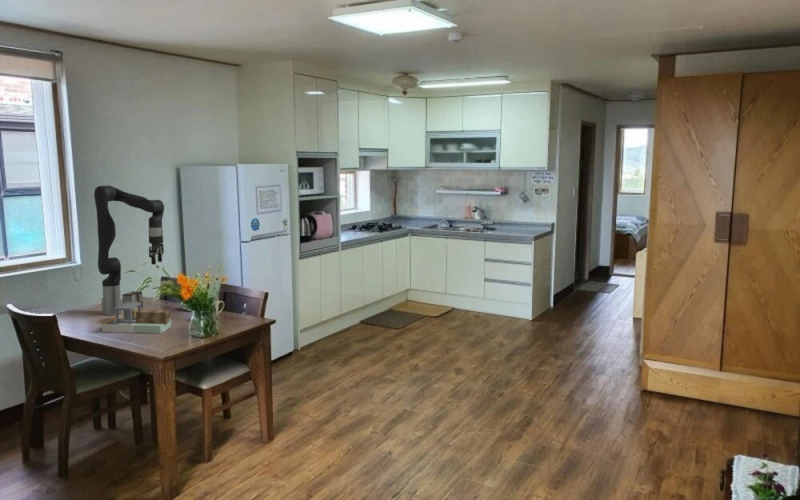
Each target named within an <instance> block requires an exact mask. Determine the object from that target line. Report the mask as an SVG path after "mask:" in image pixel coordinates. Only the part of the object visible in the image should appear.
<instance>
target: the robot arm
mask: <svg viewBox="0 0 800 500" xmlns="http://www.w3.org/2000/svg"><path fill="white" fill-rule="evenodd" d="M93 194H94V195H93V196H94V202H95V203H94V204H95V208H96V218H97V219H96V220H97V237H98V239H97V240H98V251H97V254H98V256H97V267H98V271H99V273H100V274H101V275H104V276H105V275H107V277H106V278H105V279H103V280H102V283H101V284H102V288H101V289H102V298H101V314H102V315H104V316H116V312H115V308H116V307H118V306H120V305H122V303H121V279H122V277H121V275H122V273H121V272H122V264H121V261H120V260H119V258H118V257H109V255H110V254H109V253H110V249H111V247H112V245H113V243H114V241H115V238H116V235H117V234H116V230H117V229H116V223H115V221H114V219H113V217H112V215H111V213H110V211H109V202H120V203H124V204H125V205H128V206H129V207H133V208H134V209H135V208H136V209H139V210H142V211H144V212H147V213H151V214H152V215H151V216H150V217H148V243H149V244H150V245H151V246H149V247H148V257H149V258H151V265H156V263H157V262H158V263H161V262H163V255H164V252H165V249H164V248H165V247H164V231H163V216H164V213H165V212H164V211H165V205H164V202H163V201H162V200H161V199H148V198H146V197H144V196H140V195H137V194H134V193H130V192H125V191H123V190H121V189H119V188H117V187H115V186H112V185H98V186H96V187H95V188H94V193H93ZM156 257H157V258H156ZM156 259H157V260H156ZM121 313H122V310H118V315H120V314H121Z"/></svg>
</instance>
